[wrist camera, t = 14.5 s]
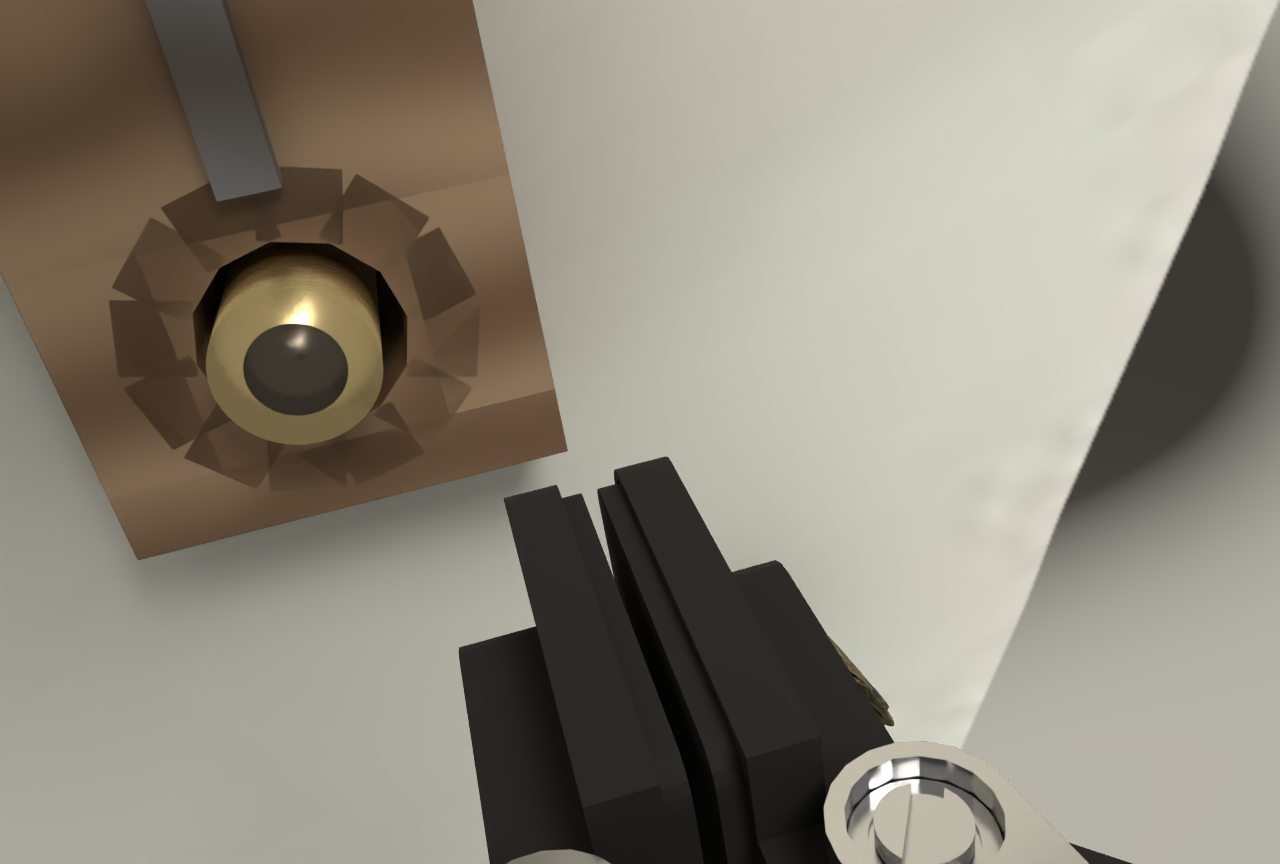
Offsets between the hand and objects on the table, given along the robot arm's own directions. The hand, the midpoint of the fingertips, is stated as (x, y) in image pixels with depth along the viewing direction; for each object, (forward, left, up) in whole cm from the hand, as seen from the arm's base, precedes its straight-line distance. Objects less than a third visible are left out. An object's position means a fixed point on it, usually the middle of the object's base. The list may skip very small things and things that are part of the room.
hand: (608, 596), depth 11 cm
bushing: (+4, -5, -25) cm, 26 cm away
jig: (+1, -5, -25) cm, 26 cm away
